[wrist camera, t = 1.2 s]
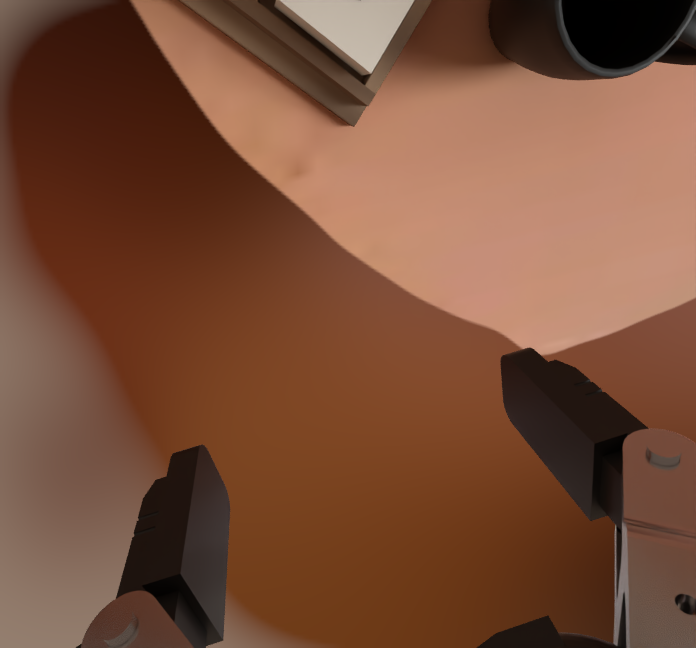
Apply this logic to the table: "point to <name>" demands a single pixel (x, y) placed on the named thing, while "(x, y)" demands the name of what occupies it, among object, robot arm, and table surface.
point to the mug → (593, 35)
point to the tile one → (349, 26)
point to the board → (305, 51)
